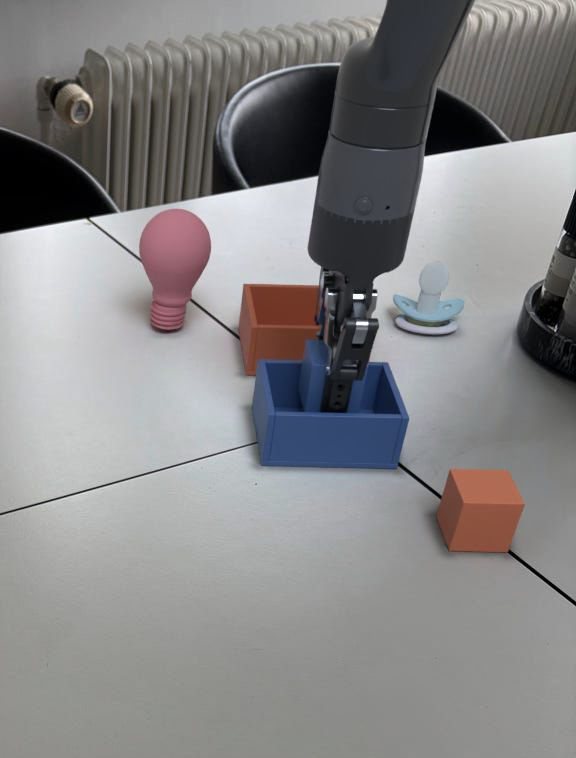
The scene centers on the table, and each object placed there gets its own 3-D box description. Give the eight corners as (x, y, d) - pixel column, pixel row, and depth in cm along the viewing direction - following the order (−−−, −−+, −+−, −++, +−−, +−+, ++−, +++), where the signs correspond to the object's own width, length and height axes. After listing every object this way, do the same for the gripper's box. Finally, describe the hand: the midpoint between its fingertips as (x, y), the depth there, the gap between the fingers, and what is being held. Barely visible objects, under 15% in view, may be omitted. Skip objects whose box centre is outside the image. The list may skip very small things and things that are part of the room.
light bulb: (216, 324, 109) (227, 208, 101) (181, 349, 105) (190, 231, 97) (158, 306, 112) (165, 192, 104) (122, 330, 108) (126, 213, 100)
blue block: (349, 388, 92) (359, 340, 89) (358, 415, 89) (368, 366, 86) (298, 387, 92) (305, 339, 89) (304, 414, 89) (312, 365, 86)
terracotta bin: (350, 332, 108) (359, 286, 105) (366, 377, 101) (376, 329, 98) (238, 329, 108) (243, 283, 105) (245, 375, 101) (251, 327, 98)
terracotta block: (492, 517, 84) (508, 469, 81) (508, 552, 81) (525, 504, 78) (436, 516, 84) (449, 468, 81) (448, 551, 81) (463, 502, 78)
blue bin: (377, 411, 97) (388, 361, 93) (397, 469, 89) (409, 418, 86) (251, 408, 97) (257, 358, 93) (261, 465, 90) (268, 414, 86)
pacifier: (462, 341, 107) (457, 314, 112) (478, 284, 103) (472, 258, 107) (390, 335, 108) (387, 309, 112) (403, 278, 104) (400, 252, 108)
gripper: (435, 235, 74) (386, 443, 85) (397, 166, 84) (358, 360, 96) (329, 232, 74) (294, 441, 85) (304, 164, 84) (276, 358, 96)
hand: (328, 397), depth 90 cm, fingers closed on blue block, 4 cm apart
